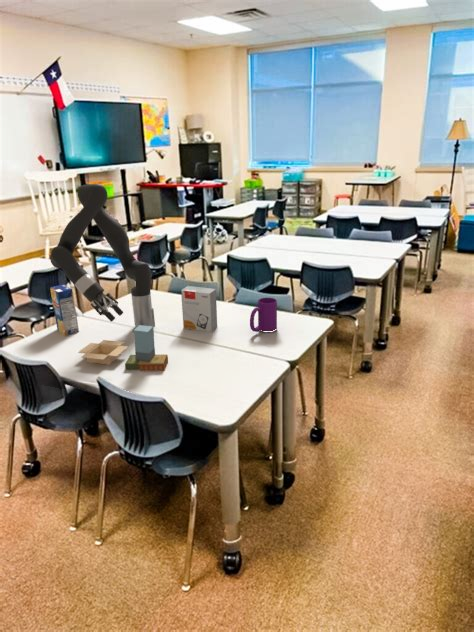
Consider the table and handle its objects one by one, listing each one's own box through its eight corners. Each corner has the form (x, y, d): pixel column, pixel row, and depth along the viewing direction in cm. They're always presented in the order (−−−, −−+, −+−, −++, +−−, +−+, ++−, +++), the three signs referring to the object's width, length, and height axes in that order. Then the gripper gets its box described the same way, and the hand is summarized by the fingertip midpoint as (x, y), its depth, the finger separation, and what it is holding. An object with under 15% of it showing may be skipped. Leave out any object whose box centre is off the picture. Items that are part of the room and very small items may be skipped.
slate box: (135, 359, 192) (133, 330, 187) (141, 353, 197) (139, 325, 192) (149, 361, 190) (147, 331, 186) (155, 355, 195) (153, 326, 191)
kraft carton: (74, 366, 196) (72, 356, 194) (97, 349, 212) (95, 339, 210) (113, 370, 191) (112, 360, 190) (133, 352, 207) (132, 342, 206)
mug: (281, 329, 227) (281, 300, 222) (257, 338, 218) (257, 308, 212) (267, 324, 234) (267, 296, 228) (244, 333, 224) (243, 303, 219)
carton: (164, 372, 190) (163, 362, 189) (125, 372, 191) (124, 363, 190) (168, 363, 198) (167, 353, 196) (130, 363, 199) (129, 353, 197)
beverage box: (65, 335, 228) (58, 292, 220) (57, 329, 236) (49, 287, 228) (79, 331, 232) (72, 289, 224) (70, 325, 240) (63, 284, 232)
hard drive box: (182, 328, 232) (180, 290, 225) (190, 323, 238) (187, 285, 231) (211, 332, 226) (209, 293, 219) (218, 326, 233) (216, 288, 226)
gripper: (87, 285, 181) (116, 316, 183) (102, 278, 195) (130, 306, 196) (75, 297, 183) (104, 328, 185) (91, 289, 197) (118, 318, 198)
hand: (117, 317), depth 191 cm, fingers open, 8 cm apart
